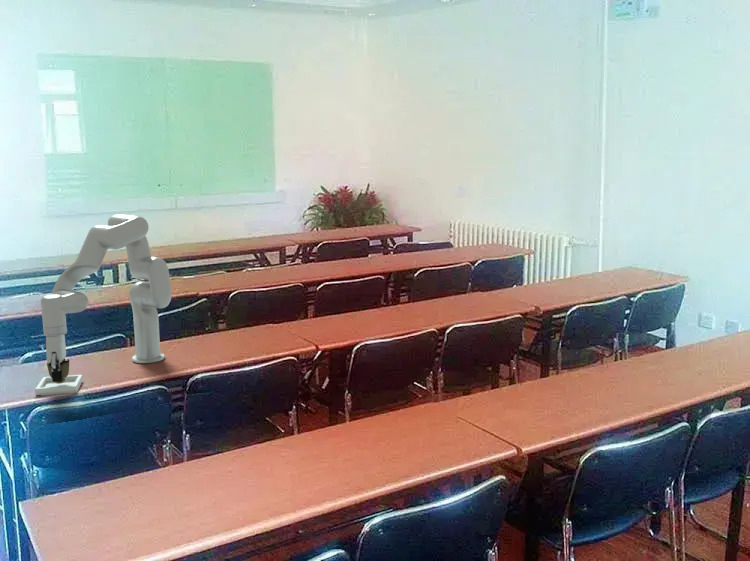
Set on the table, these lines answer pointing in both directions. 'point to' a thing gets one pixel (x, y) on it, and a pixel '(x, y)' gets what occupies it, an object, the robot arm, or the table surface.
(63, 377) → the cup
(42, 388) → the tray
